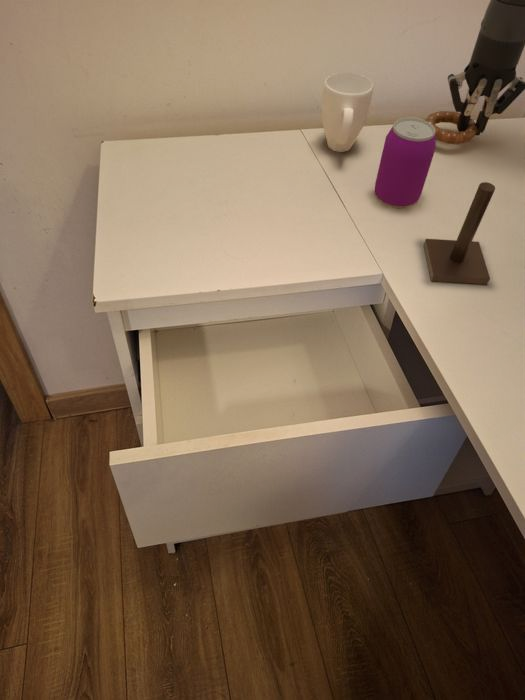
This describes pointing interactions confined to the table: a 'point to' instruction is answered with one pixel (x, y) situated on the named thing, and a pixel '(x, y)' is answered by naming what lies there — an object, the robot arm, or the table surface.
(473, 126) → the ring
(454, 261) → the peg stand
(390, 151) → the beverage can
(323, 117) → the mug
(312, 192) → the table surface
